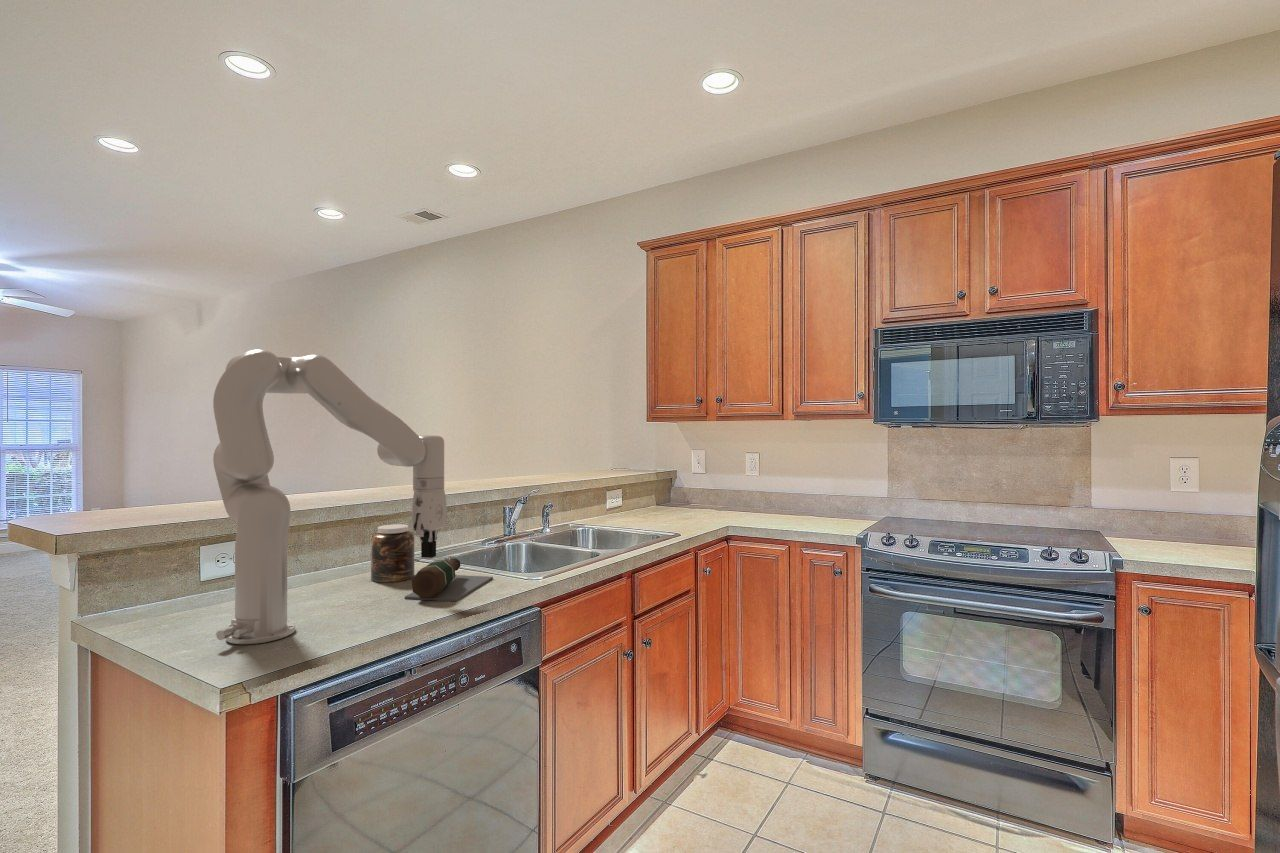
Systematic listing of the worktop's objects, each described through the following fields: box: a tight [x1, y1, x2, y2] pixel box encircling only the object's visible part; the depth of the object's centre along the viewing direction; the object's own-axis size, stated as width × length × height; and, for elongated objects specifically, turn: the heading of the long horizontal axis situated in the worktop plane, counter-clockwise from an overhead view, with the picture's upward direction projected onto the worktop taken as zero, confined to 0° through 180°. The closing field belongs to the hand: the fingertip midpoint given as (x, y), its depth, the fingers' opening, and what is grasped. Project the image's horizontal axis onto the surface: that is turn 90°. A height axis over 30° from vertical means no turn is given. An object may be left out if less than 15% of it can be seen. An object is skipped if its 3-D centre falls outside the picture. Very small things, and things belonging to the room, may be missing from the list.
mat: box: [404, 574, 494, 602], centre depth 172 cm, size 24×14×1 cm, turn 171°
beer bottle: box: [411, 557, 461, 599], centre depth 171 cm, size 8×8×24 cm
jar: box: [370, 523, 415, 584], centre depth 183 cm, size 12×12×15 cm
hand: (428, 556), depth 159 cm, fingers closed
